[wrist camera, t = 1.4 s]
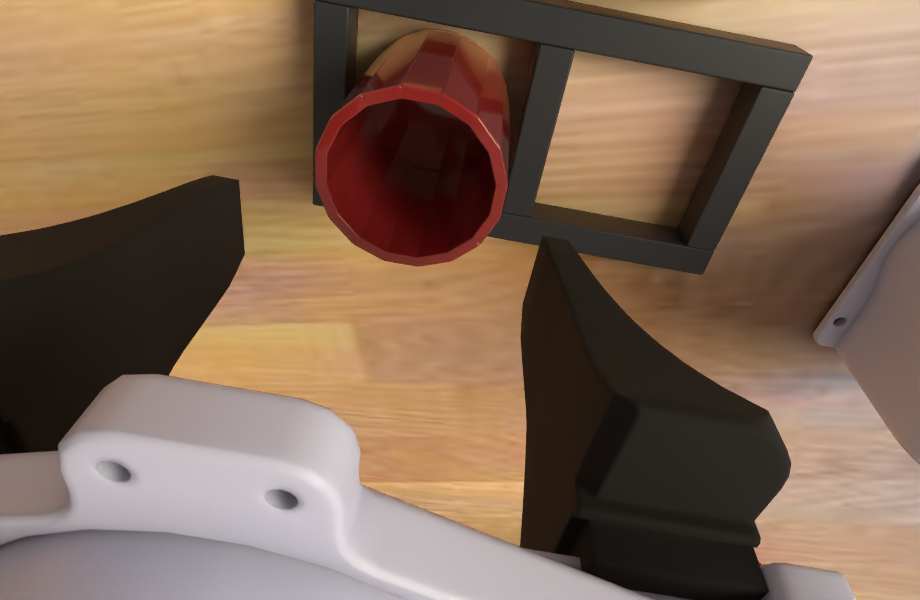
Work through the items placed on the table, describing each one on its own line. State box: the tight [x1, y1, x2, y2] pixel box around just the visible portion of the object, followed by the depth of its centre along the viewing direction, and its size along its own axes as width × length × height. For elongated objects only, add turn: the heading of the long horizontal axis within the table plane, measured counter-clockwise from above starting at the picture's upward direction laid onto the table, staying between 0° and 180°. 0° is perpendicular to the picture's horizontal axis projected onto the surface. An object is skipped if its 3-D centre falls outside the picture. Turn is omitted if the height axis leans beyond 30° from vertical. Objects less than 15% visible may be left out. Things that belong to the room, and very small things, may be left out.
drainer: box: [313, 0, 813, 275], centre depth 21 cm, size 9×16×2 cm, turn 81°
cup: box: [315, 29, 510, 266], centre depth 19 cm, size 6×6×7 cm
